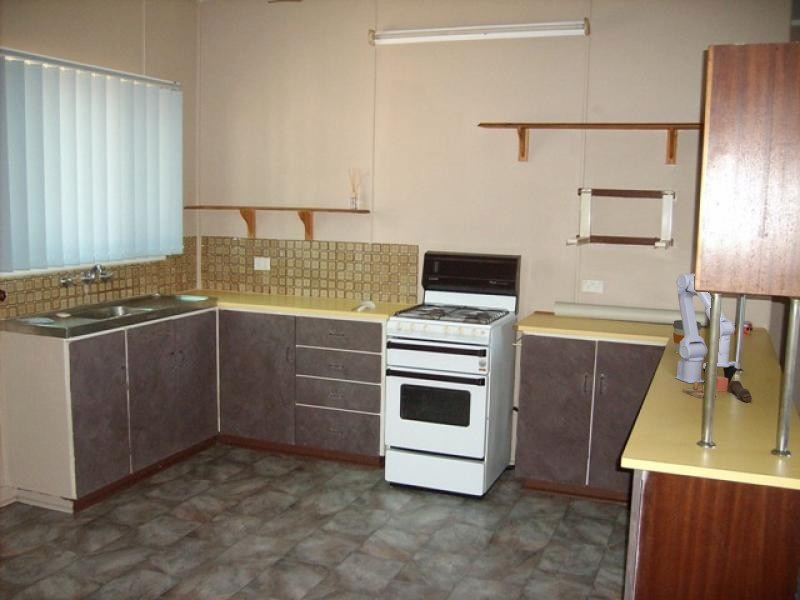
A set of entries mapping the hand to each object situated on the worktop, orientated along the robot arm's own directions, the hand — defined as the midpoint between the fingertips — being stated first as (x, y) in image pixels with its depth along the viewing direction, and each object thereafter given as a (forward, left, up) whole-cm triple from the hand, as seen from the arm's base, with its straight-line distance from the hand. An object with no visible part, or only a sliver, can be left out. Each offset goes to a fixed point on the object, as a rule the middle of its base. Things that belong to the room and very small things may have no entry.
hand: (718, 385), depth 311 cm
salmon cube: (0, 0, -2) cm, 2 cm away
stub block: (+4, -12, -2) cm, 13 cm away
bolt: (+12, 0, -2) cm, 12 cm away
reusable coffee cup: (-63, +33, -2) cm, 71 cm away
